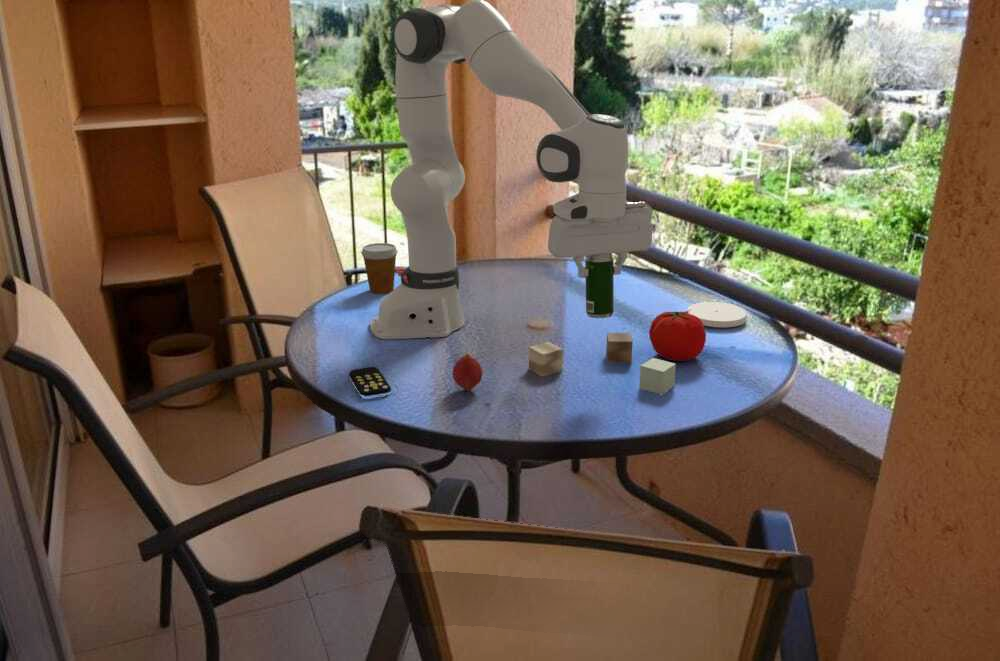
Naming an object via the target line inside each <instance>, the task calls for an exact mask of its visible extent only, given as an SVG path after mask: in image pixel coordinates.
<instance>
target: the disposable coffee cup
mask: <svg viewBox="0 0 1000 661" xmlns="http://www.w3.org/2000/svg"><path fill="white" fill-rule="evenodd" d="M360 253H361V255H362V257H363V261H364V267H365V273H366V277H367V282H368V288H369V292H370V293H372V294H374V295H375V294H376V295H385V294H386V295H387V294H389V293H391V292H392V291H393V290H394V289H395V275H396V274H395V273H396V272H395V271H396V261H397V259H396V258H397V255H398V249H397V247H396V245H395V244H393V243H387V242H378V243H369V244H365V245H364V246H363V247H362V251H361V252H360Z"/></svg>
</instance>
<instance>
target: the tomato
mask: <svg viewBox="0 0 1000 661" xmlns="http://www.w3.org/2000/svg"><path fill="white" fill-rule="evenodd" d="M691 310H692V309H691ZM689 311H690V310H689ZM649 327H650V328H649V331H648V333H649V340H650V343H651V345H652V347H653V349H654V351H655V352H656V354H658V355H659V356H661V357H663V358H665V359H666V360H671V361H686V362H687V361H690V360H694V359H695V358H697V357H698V356H699V355H700V354H701V353H702V352H703V350H704V348H705V344H706V340H707V333H706V329H705V325H703V322H702V321H701V320H700V319H699V318H698V317H696V316H694V315H691V314H689V313H688V311H687V310H686V311H664V312H662V313H660V314H658V315H656V317H654V319H653V320H652V321H651V324H650V326H649Z"/></svg>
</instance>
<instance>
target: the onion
mask: <svg viewBox="0 0 1000 661" xmlns="http://www.w3.org/2000/svg"><path fill="white" fill-rule="evenodd" d="M452 378H453V380H454V382H455V384H457V385H458V387H460V388H462V389H463V390H464V391H466V392H470V391H472V390H473V389H474V388H475V387H476V386H477V385H478V384H480V382H481V380H482V378H483V368H482V366H481V365H480V363H479V362H478V361H477V359H475V358H474V357H472V356H471V355H470V353H469V352H466V353H465V354H464V355H463V356H462V357H461V358H459V359H458V360H457V361H456V363H455V364H454V366H453V368H452Z"/></svg>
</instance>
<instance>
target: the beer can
mask: <svg viewBox="0 0 1000 661" xmlns="http://www.w3.org/2000/svg"><path fill="white" fill-rule="evenodd" d="M584 264H585V265H584V267H586V268H588V269H589V273H588V275H589V276H588V277H587V278H585V313H586V315H587V317H589V318H593V319H607V318H611V317H612V316H613V315H614V311H615V308H614V303H615V302H614V300H615V299H614V297H615V296H614V295H615V293H614V288H615V287H614V285H615V284H614V277H615V275H614V273H613V264H614V258H613V253H610V254H599V255H587V256H586V257H585V258H584Z"/></svg>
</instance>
